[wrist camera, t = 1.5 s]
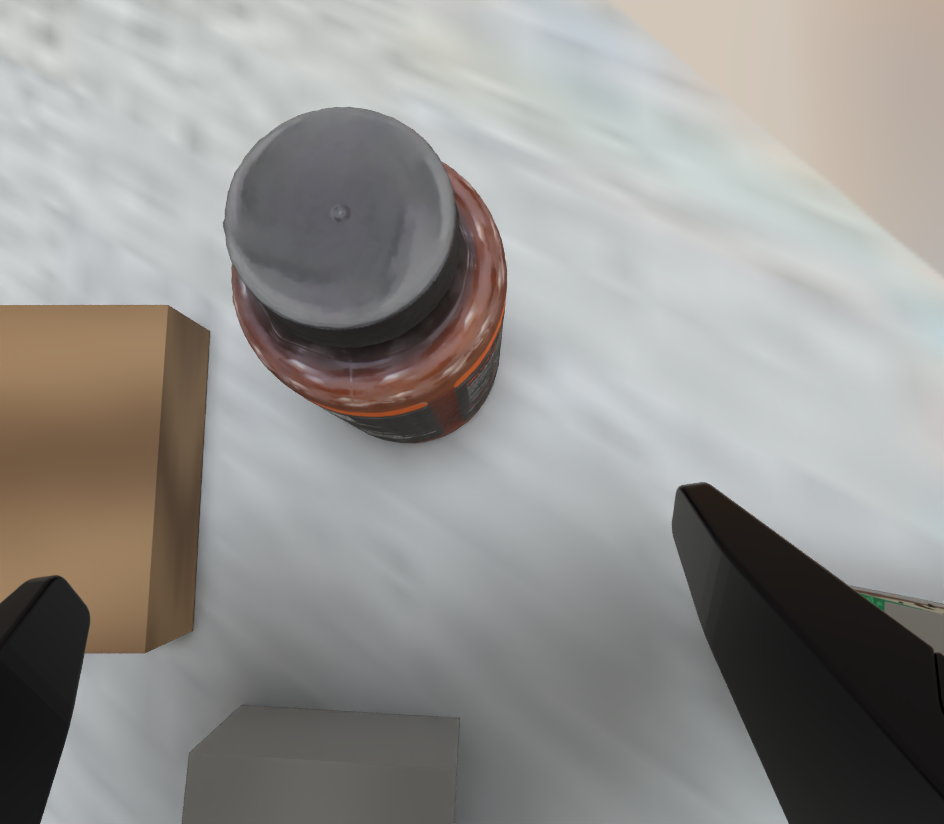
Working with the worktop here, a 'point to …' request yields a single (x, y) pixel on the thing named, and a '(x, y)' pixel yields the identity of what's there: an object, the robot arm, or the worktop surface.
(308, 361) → the supplement bottle
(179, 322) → the walnut block
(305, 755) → the slate block
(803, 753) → the robot arm
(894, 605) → the food container
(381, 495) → the worktop surface
